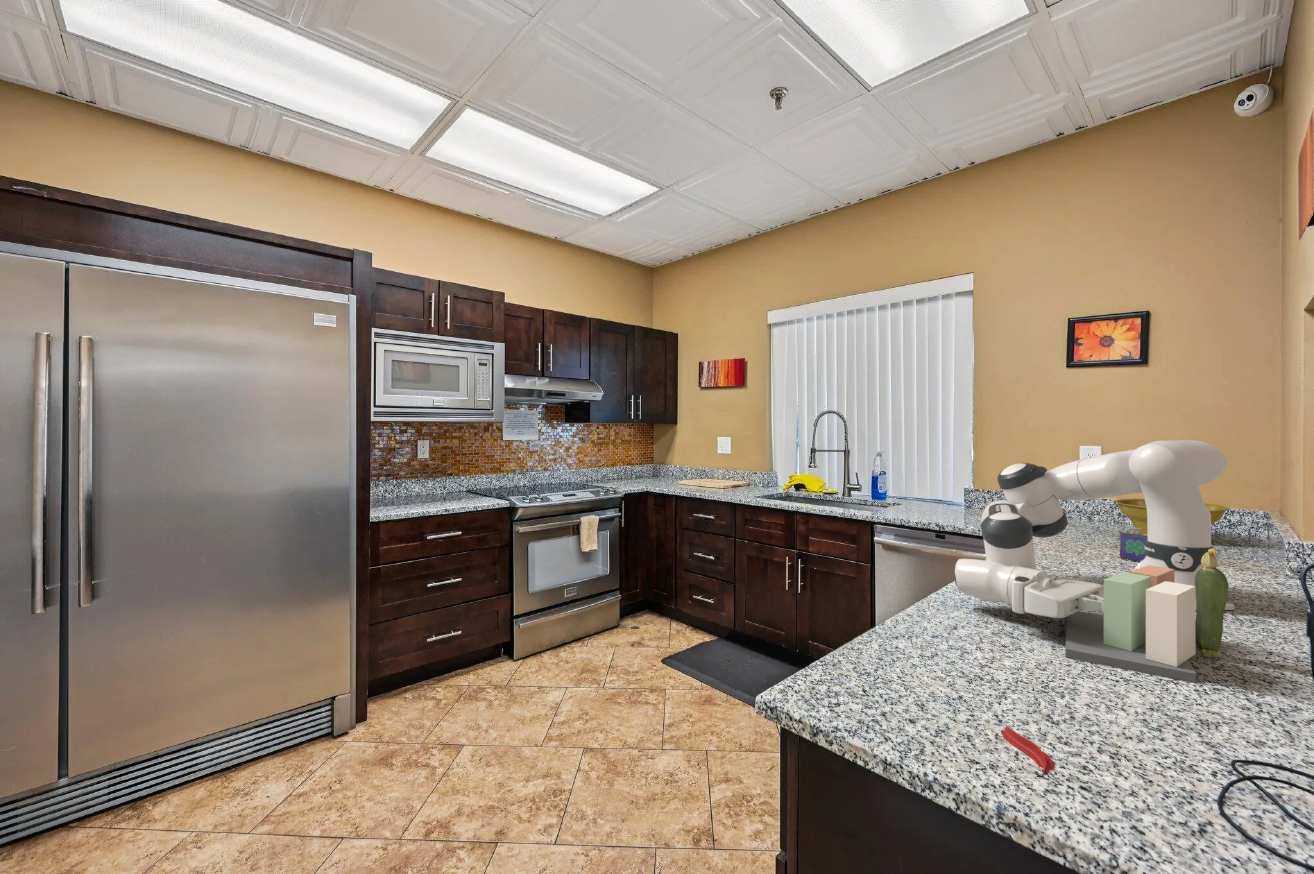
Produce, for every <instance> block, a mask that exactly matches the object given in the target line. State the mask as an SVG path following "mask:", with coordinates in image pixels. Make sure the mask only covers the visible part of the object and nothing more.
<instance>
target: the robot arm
mask: <svg viewBox="0 0 1314 874" xmlns="http://www.w3.org/2000/svg"><path fill="white" fill-rule="evenodd" d="M1227 468H1228V458H1227V456H1226V454H1225V453H1224V452H1223V450H1222V449H1220V448H1219V447H1217V446H1215V445H1213V444H1210V443H1208V442H1205V441H1202V440H1197V439H1195V440H1194V439H1182V440H1181V439H1172V440H1171V439H1169V440H1167V439H1166V440H1165V439H1164V440H1155V441H1151V442H1148V443H1145V444H1143V445H1141V446H1139V447H1137V448H1135V449H1128V450H1123V451H1122V450H1121V451H1115V452H1111V453H1106V454H1101V455H1095V456H1092V457H1085V458H1082V459H1077V460H1073V461H1070V462H1067V463H1063V464H1061V465H1058V466H1056V467H1054V468H1052V469H1050V470H1049V471H1048V468H1046V467H1045V466H1043V465H1042V466H1038V465H1036V464H1035V463H1029V462H1020V463H1019V462H1018V463H1014V464H1011V465H1009V466H1006V467H1005V468H1004V469H1002V470H1001V471H1000V472H999V473H998V475H997V476H996V477H997V483H998V485H999V486H998V487H999V488H1000V490H1002V493H1003V494H1004V497H1005V499H1006V500H1004V499H1003V500H1002V499H1000V500H999V499H998V500H995V501H992V502H990V503H989V504H988V505H987V506H986V507H985V508H984V510H983V512H982V514H981V518H980V530H981V535H982V538H983V545H984V551H985V559H984V560H983V559H975V558H959V559H958V560H957V561H956V562H955V565H954V571H953V577H954V583H955V586H956V588H957V590H959V591H960V592H962V593H964V594H966V595H969V596H971V597H973V598H977V599H980V600H983V601H988V602H991V603H1003V604H1007V605H1008V606H1010V607H1011V610H1012V612H1013V613H1016V614H1021V615H1022V614H1027V613H1028V614H1032V615H1035V616H1042V617H1047V618H1052V619H1053V618H1054V619H1064V618H1067V616H1069V615H1071V614H1074V613H1076V612H1079V611H1081V612H1082V611H1088V612H1089V611H1092V612H1093V611H1094V612H1102V613H1104V585H1102V584H1099V583H1096V582H1090V581H1084V580H1077V579H1069V578H1059V579H1054V578H1050V576H1049V574H1048V573H1047V572H1046V571H1045V570H1041V569H1037V563H1036V557H1035V550H1034V549H1035V548H1034V547H1035V546H1034V541H1033V540H1034V537H1035V538H1042V539H1043V538H1050V537H1054V536H1057V535H1059V534H1060V533H1062V532H1064V531H1065V530H1066V528H1067V527H1068V525H1069V521H1068V516H1067V515H1066V511H1063V509H1062V506H1061V503H1060V502H1059V500H1061V501H1086V500H1087V501H1089V500H1097V499H1103V498H1110V497H1116V496H1124V495H1125V496H1126V495H1129V494H1132V495H1133V494H1140V493H1142V495H1143V499H1145V503H1146V508H1147V540H1146V541H1145V545H1144V549H1145V555H1146V557H1145V559H1144V560H1142V561H1140V562H1137V565H1136V566H1134V567H1133V571H1134V570H1137V569H1139V568H1142V567H1145V566H1148V565H1150V566H1157V567H1163V568H1170V569H1175V583H1179V584H1185V585H1191V586H1195V575H1196V573H1197V572H1198V571H1199V570H1200V569H1202V568H1204V566H1203V565H1202V563H1201V559H1202V557H1203V555H1204V554H1205V553H1207V552H1208V550H1209V549H1214V547H1213V546H1212V524H1211V514H1210V511H1209V510H1208V509H1207V508H1206V506H1205V504H1204V503H1205V502H1204V499H1203V496H1202V492H1201V490H1200V486H1201V485H1206V484H1208V483H1210V482H1212V481H1214V480H1217V479H1218V478H1220V477H1221V476H1223V474H1224V473H1225V471H1226V470H1227ZM1216 569H1218V567H1216ZM1235 610H1236V607H1235V605H1234V604H1233V603H1231V602H1229V601H1228V600H1227V603H1226V606H1225V610H1224V611H1235ZM1195 611H1196V595H1195Z"/></svg>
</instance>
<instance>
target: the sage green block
mask: <svg viewBox="0 0 1314 874" xmlns="http://www.w3.org/2000/svg"><path fill="white" fill-rule="evenodd" d="M1103 588H1104V612H1103V615H1104V644H1105V645H1109V646H1113V647H1117V648H1121V649H1124V650H1128V651H1132V650H1134V649H1136V648H1138V647H1139V646H1141V645H1143V644H1145V643H1146V589H1149V588H1151V576H1145V575H1139V574H1133V573H1130V572H1127V571H1126V572H1125V571H1123V572H1121V573H1118V574H1115V575H1112V576H1110V577H1107V578H1104V579H1103Z"/></svg>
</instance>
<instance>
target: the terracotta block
mask: <svg viewBox="0 0 1314 874" xmlns="http://www.w3.org/2000/svg"><path fill="white" fill-rule="evenodd" d="M1129 573H1133V574H1139V575H1145V576H1151V587H1153V586H1155V585H1158V584H1160V583H1162V582H1165V581H1167V582H1173V583H1175V569H1170V568H1163V567H1157V566H1150V565H1148V566H1145V567H1142V568H1139V569H1137V570H1134V569H1133V570H1131V571H1130V572H1129Z"/></svg>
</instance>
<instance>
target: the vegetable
mask: <svg viewBox="0 0 1314 874" xmlns="http://www.w3.org/2000/svg"><path fill="white" fill-rule="evenodd" d="M1217 552H1218V551H1217V549H1216V548H1214V547H1213V549H1209V550H1208V552H1207V553H1205V554H1204V555H1203V557H1202V559H1201V563H1202V565H1203V566H1204V568H1202V569H1200V570H1199V571H1198V572H1197V573H1196V575H1195V595H1196V610H1195V646H1196V647H1197V648H1198V649H1199V652H1200V655H1201V656H1202V658H1204V657H1207V658H1217V655H1218V652H1219V650H1220V649H1221V646H1222V639H1223V638H1222V637H1223V631H1224V616H1225V615H1224V614H1225V611H1226V610H1225V606H1226V603H1227V601H1228V598H1229V591H1230V590H1229V583H1228V579H1227V577H1226V574H1225V573H1223V571H1221V570H1220V569H1218V566H1219V563H1218V560H1217V558H1218V556H1217ZM1216 568H1217V569H1216Z"/></svg>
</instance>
